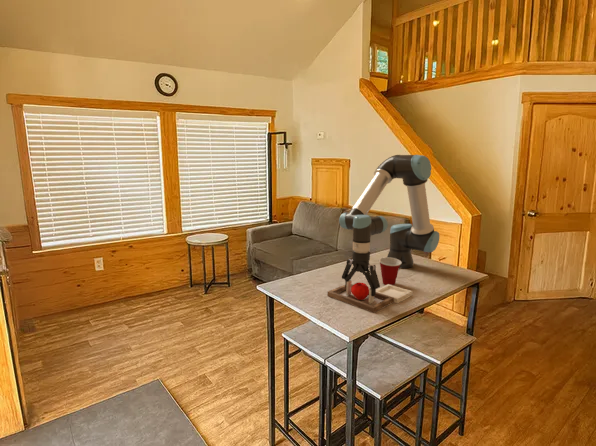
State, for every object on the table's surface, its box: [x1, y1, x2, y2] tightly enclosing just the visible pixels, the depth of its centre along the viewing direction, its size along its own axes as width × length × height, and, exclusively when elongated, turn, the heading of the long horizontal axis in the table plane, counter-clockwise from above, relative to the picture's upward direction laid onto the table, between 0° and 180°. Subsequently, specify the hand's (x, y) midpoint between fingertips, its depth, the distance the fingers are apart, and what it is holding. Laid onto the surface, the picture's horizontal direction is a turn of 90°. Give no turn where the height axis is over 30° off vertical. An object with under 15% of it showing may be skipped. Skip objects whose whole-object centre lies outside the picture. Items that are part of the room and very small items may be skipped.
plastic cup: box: [378, 256, 402, 286], centre depth 182 cm, size 11×11×12 cm
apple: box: [351, 282, 370, 301], centre depth 165 cm, size 8×8×7 cm
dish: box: [376, 284, 413, 304], centre depth 169 cm, size 12×12×2 cm
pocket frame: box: [327, 284, 395, 313], centre depth 165 cm, size 15×25×2 cm, turn 44°
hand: (359, 298), depth 165 cm, fingers open, 11 cm apart
